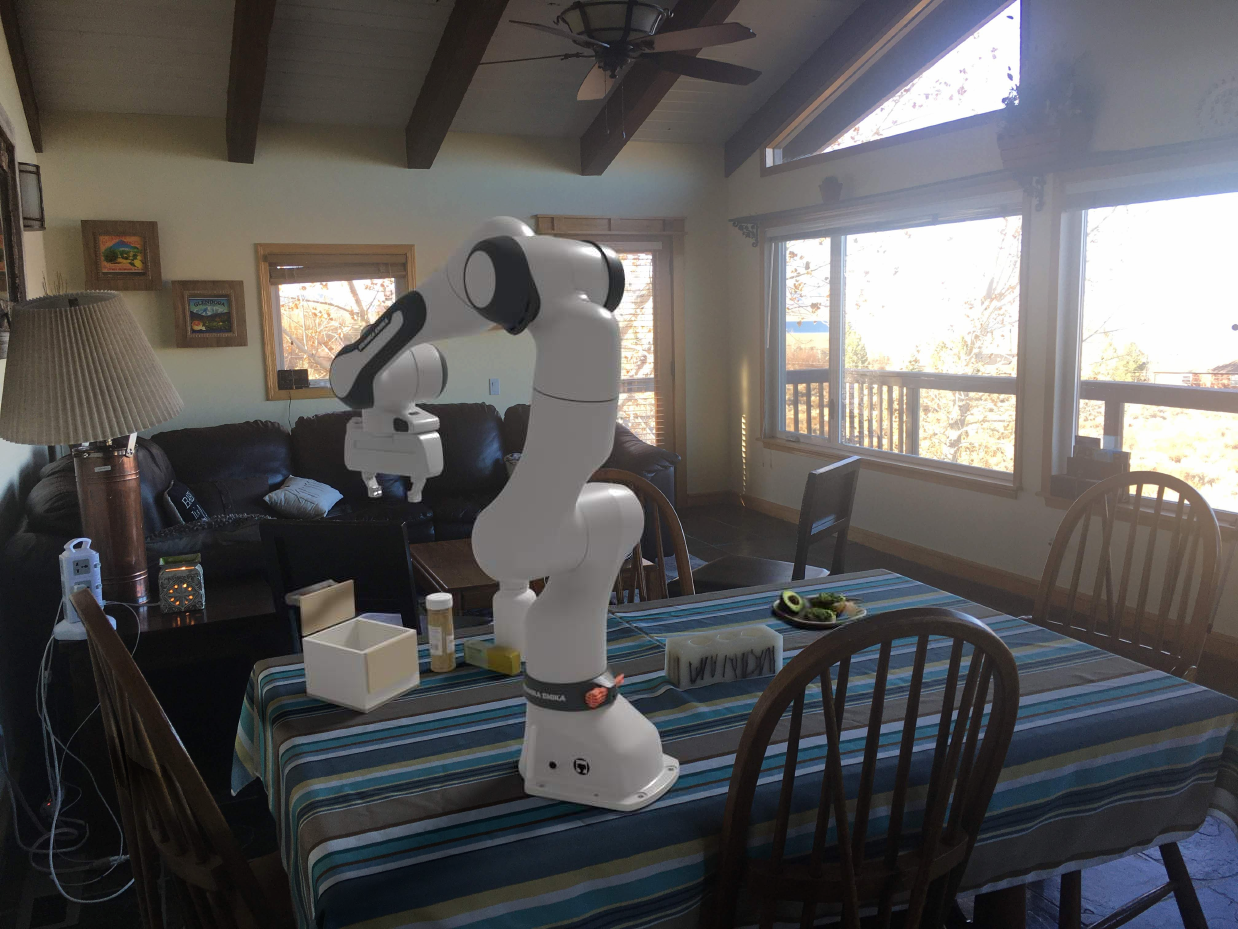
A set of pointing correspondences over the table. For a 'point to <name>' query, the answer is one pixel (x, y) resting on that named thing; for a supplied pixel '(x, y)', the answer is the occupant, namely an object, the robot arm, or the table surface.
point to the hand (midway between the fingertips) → (394, 499)
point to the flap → (323, 604)
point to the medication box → (492, 656)
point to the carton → (361, 664)
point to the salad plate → (816, 609)
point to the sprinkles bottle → (441, 632)
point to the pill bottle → (511, 614)
